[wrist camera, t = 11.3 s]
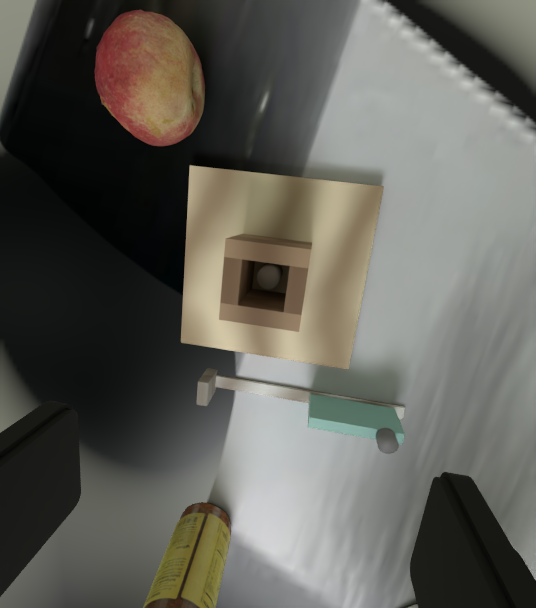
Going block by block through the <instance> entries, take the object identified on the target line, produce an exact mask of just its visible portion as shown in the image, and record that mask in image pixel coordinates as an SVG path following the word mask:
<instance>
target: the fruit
mask: <svg viewBox="0 0 536 608" xmlns="http://www.w3.org/2000/svg"><path fill="white" fill-rule="evenodd" d="M95 80H96V86H97V90H98V93H99V95H100V98H101V101H102V104H103V105H104V106H105V107H106V108H107V109H108V111H109V112H110V113H111V115H113V116H114V117H115V118H116V119H117V120H118V121H119V122H120V124H121V125H122V126H123V127H124V128H125V129H127V130H128V131H129V132H130V133H132V134H133V135H134V136H135V137H136V138H138V139H140V140H142V141H143V142H145V143H148V144H150V145H153V146H167V145H172V144H175V143H177V142H179V141H181V140H183V139H184V138H185V137H187V136H189V135H190V134H191V133H192V132H193V130H194V129H195V127H196V126H197V124H198V122H199V120H200V118H201V115H202V113H203V110H204V98H205V80H204V75H203V72H202V65H201V62H200V59H199V57H198V55H197V53H196V51H195V49H194V47H193V45H192V43H191V42H190V40H189V39H188V37H187V36H186V34H185V33H184V32H183V31H182V30H181V29H180V28H179V27H178V26H177V25H176V24H175V23H174V22H173V21H172V20H170V19H169V18H168V17H165V16H163V15H161V14H157V13H154V12H144V11H142V10H134V11H131V12H126V13H124V14H121V15H119V16H118V17H117V18H116V19H115V20H114V22H113V23H112V24H111V26H110V27H109V28H108V29H107V30H106V31H105V32H104V35H103V37H102V39H101V41H100V43H99V45H98V46H97V53H96V68H95Z"/></svg>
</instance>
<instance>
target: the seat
mask: <svg viewBox="0 0 536 608" xmlns="http://www.w3.org/2000/svg"><path fill="white" fill-rule="evenodd" d="M383 188H384V186H374V185H365V184H356V183H347V182H338V181H328V180H319V179H310V178H301V177H292V176H283V175H273V174H264V173H255V172H246V171H237V170H227V169H218V168H209V167H200V166H191V165H190V173H189V192H188V212H187V231H186V251H185V271H184V290H183V310H182V329H181V342H182V343H189V344H194V345H200V346H207V347H213V348H219V349H225V350H231V351H237V352H244V353H250V354H256V355H262V356H268V357H274V358H281V359H287V360H293V361H299V362H305V363H311V364H318V365H324V366H330V367H336V368H342V369H348V370H349V364H350V359H351V354H352V349H353V344H354V338H355V333H356V328H357V323H358V318H359V313H360V307H361V302H362V297H363V292H364V287H365V281H366V276H367V271H368V266H369V261H370V255H371V250H372V245H373V240H374V235H375V230H376V224H377V219H378V214H379V209H380V204H381V198H382V193H383ZM240 234H250V235H258V236H265V237H273V238H281V239H288V240H296V241H304V242H312V248H311V255H310V261H309V268H308V275H307V282H306V288H305V295H304V302H303V308H302V315H301V322H300V329H299V332H295V331H289V330H282V329H276V328H270V327H263V326H257V325H250V324H244V323H237V322H231V321H225V320H219V312H220V300H221V288H222V276H223V264H224V252H225V240H226V238H229V237H232V236H236V235H240ZM289 268H290V266H287V265H280V264H273V263H265V262H258V261H255V266H254V276H253V285H252V289H259V290H266V291H273V292H280V293H286V291H287V283H288V276H289ZM216 387H219V388H226V389H231V390H237V391H242V392H248V393H254V394H260V395H265V396H271V397H277V398H283V399H288V400H294V401H300V402H306V403H309V400H310V394H313V395H319V396H324V397H330V398H336V399H342V400H348V401H354V402H360V403H365V404H371V405H377V406H383V407H389V408H395V411H396V413H397V416H398V418H399V419H403V415H404V411H405V407H404V406H398V405H392V404H386V403H380V402H374V401H368V400H363V399H357V398H351V397H345V396H339V395H333V394H327V393H321V392H315V391H310V390H304V389H298V388H292V387H286V386H280V385H274V384H268V383H263V382H257V381H251V380H245V379H239V378H233V377H227V376H221V375H217V369H212V368H207V370H206V371H205V372H204V374H203V375H202V377H201V378H200V379H199V381H198V389H197V405H203V406H207V405H208V403H209V401H210V400H211V398H212V396H213V394H214V393H215V391H216Z"/></svg>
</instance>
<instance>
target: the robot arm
mask: <svg viewBox="0 0 536 608" xmlns="http://www.w3.org/2000/svg"><path fill="white" fill-rule="evenodd" d="M80 483H81V482H80V456H79V432H78V414H77V412H76V411H74V409H73V407H72V406H71V405H70V404H65V403H60V402H54V401H47V402H45V403H44V404H42V405H41V406H39V407H38V408H36V409H35V410H33V411H32V412H30V413H29V414H27V415H26V416H25V417H23V418H22V419H20V420H19V421H17V422H16V423H14V424H13V425H11V426H10V427H8V428H7V429H6V430H4V431H2V432H1V433H0V596H1V595H2V594H3V593H4V591H6V589H7V588H8V587H9V586H10V585H11V583H12V582H13V581H14V580H15V579H16V577H17V576H18V575H19V574H20V573H21V571H22V570H23V569H24V568H25V567H26V565H27V564H28V563H29V562H30V561H31V559H32V558H33V557H34V556H35V555H36V553H37V552H38V551H39V550H40V549H41V547H42V546H43V545H44V544H45V543H46V541H47V540H48V539H49V538H50V537H51V535H52V534H53V533H54V532H55V531H56V529H57V528H58V527H59V526H60V525H61V523H62V522H63V521H64V520H65V519H66V517H67V516H68V515H69V514H70V513H71V511H72V510H73V509H74V508H75V506H76V505H77V503H78V501H79V498H80V494H81V484H80ZM410 575H411V581H412V585H413V589H414V592H415V596H416V600H417V604H415V605H412V606H410V607H407V608H536V581H535V579H534V577H533V576H532V574H531V572H530V571H529V569H528V567H527V566H526V564H525V562H524V561H523V559H522V558H521V556H520V555H519V554H518V552H517V551H516V550H514V549H513V547H512V545H511V544H510V542H509V540H508V539H507V537H506V535H505V533H504V532H503V530H502V528H501V527H500V525H499V523H498V522H497V520H496V518H495V516H494V515H493V513H492V511H491V510H490V508H489V506H488V505H487V503H486V501H485V500H484V498H483V496H482V494H481V493H480V491H479V489H478V488H477V486H476V484H475V483H474V481H473V480H472V478H471V477H469V476H464V475H459V474H453V473H448V472H443V473H442V474H441V476H440V477H435V478H434V479H433V481H432V485H431V488H430V492H429V496H428V499H427V503H426V507H425V510H424V514H423V518H422V521H421V525H420V529H419V532H418V536H417V540H416V543H415V547H414V551H413V554H412V558H411V562H410Z"/></svg>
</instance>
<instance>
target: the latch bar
mask: <svg viewBox="0 0 536 608" xmlns="http://www.w3.org/2000/svg"><path fill="white" fill-rule="evenodd" d="M308 427H309V428H315V429H320V430H326V431H331V432H337V433H342V434H348V435H353V436H359V437H364V438H370V439H375V440H377V444H378V447H379V449H380V451H382V452H383V453H387V454H390V453H393V452H395V451H396V450H397V449H398V444H403V440H404V436H405V433H404V431H403V428H402V426H401V423H400V421H399V418H398V416H397V413H396V411H395V408H389V407H383V406H377V405H371V404H365V403H360V402H354V401H348V400H342V399H336V398H330V397H324V396H319V395H313V394H310V400H309V414H308Z"/></svg>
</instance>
